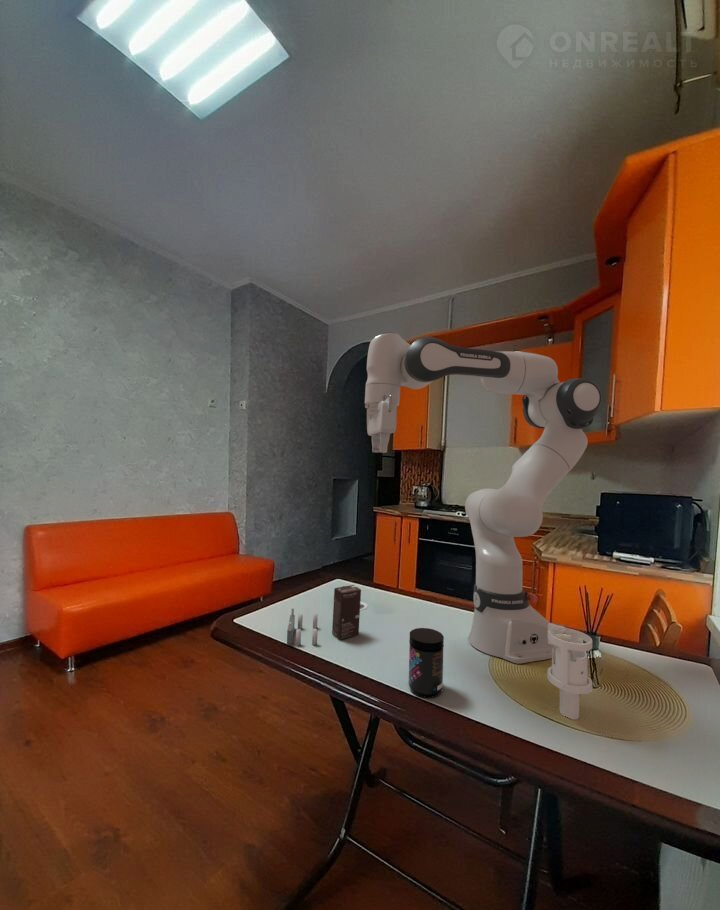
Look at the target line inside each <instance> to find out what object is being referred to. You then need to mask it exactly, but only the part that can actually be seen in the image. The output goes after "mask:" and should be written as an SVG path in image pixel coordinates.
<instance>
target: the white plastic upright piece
mask: <svg viewBox="0 0 720 910" xmlns="http://www.w3.org/2000/svg"><path fill="white" fill-rule="evenodd" d="M564 634H566V636H570V640H569V641H567V640H564V639H560V638H558V637H557V636H556V635H564ZM578 639H579V640H582V641H583V642H584V643H583V642H578ZM548 644H551V645H554V646H555V647H553V648H552V658H551V666H550V667H548V668H547V671H546V672H547V676H546V677H547V680H548V681H549V683H551V684H552V685H554V686H555V687H556V688H557V689H559V712H560V714H561V715H562V716H563V717H565V716H566V717H565V718H567V717H568V718H567V719H569V718H572V719H571V720H579V719H580V695H587V694H590V693H592V692H593V680H592V678H591V677H590V676H589V675H588V653H587V652H589V651H591V650H592V649H593V639H592V637H591V636H590V635H588V634H586V633H584V632H582V631H580V630H577V629H573V628H570V627H569V628H568V627H565V626H564V625H558V624H555V623H552V622H549V624H548Z"/></svg>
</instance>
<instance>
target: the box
mask: <svg viewBox="0 0 720 910" xmlns="http://www.w3.org/2000/svg"><path fill="white" fill-rule="evenodd" d="M333 590H334V591H333V606H332V607H333V608H332V611H333V612H332V625H331V626H332V629H331V634H332V636H333V637H335V638H336V639H338V640H339V641H341V640H345V639H349V638H353V637H356V636H359V635H360V633H359V632H360V619H361V618H360V616H361V615H360V614H361V610H360V609H361V603H360V600H362V599H361V598H362V594H361V593H362V589H360V588H359V587H357V586H356V585H354V584H352V585H343V586H339V587H335V588H334V589H333Z"/></svg>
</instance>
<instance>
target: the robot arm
mask: <svg viewBox="0 0 720 910" xmlns="http://www.w3.org/2000/svg"><path fill="white" fill-rule="evenodd" d="M366 373H367V380H366V382H365V390H364V391H365V392H364V407H365V409H366V431H367V432H366V433H367V435H368V436H370V437H371V446H372V449H371V450H372V453H376V454H377V453H380V454H381V453H383V454H386V453H388V445H389V442H390V436H391V434H394V433H396V430H397V422H398V421H397V414H398V412H397V411H398V408H397V407H399V406H400V399H401V398H400V397H401V387H403V388H407V389H412V390H419V389H420V390H421V389H423V388H426V387H427V386H429V385H430V384H431V383H433V382H435V381H437V380H439V379H441V378H444V377H447V376H462V377H473V378H479V379H480V382H481V384H482V386H483V387H484V389H485V390H487V391H488V392H492V393H496V394H501V395H520V396H521V395H522V398H521V403H522V414H523V416H524V417H523V418H524V419H525V421H526V423H527V424H528V425H529V426H531V427H533V428H537V429H543V432H542V434H541V436H540V437H539V438H538V439H537V441H535V442H534V443H533V444H532V445H531V446H530V447H529V449H527V450H526V451H525V452H524V453H523V454H522V455H521V457H520V458H518V459H517V460H516V461H515V462H514V463H513V465H512V466H511V475H510V476H509V477H508V479H507V481H506V483H505V484H504V485H502V487H500V488H498V489H497V488H488V487H487V488H480V489H479V490H476V491H473V492H472V493H470V494H469V495H468V497H467V498H466V500H465V504H464V505H465V506H464V510H465V514H466V515H467V517H468V520H469V523H470V527H471V528H470V529H471V534H472V538H473V544H474V550H475V583H474V585H473V607H474V610H473V618H472V624H471V628H470V633H469V635H468V637H467V638H468V642H469V644H470V645H471V646H473V647H474V648H475V649H476V650H479V651H480V652H482V653H483V654H484V653H485V654H487V655H490V656H494V657H497V658H501V659H504V660H506V661H508V662H511V663H514V664H517V665H518V664H525V663H530V662H531V663H532V662H537V661H544V660H552V648H553V647H555V646H554V645H551V644H548V624H549V623H550V622H549V621H548V620H547V618H545V617H544V616H543V615H541V613H540V612H538V610H536V609H534V607H532V606H531V604H530V603H533V604H536V603H537V602H538V601H539V597H538V595H537V594H535V593H534V594H533V592H528V591H526V590H525V589H523V558H522V555H521V554H520V552H519V550H518V548H517V545H516V542H515V538H523V537H530V536H532V535H533V534H535V533H536V532H537V531H539V529H540V528H541V525H542V524H543V518H544V516H543V515H544V514H543V510H542V509H543V508H542V507H544V503H545V502H546V500H547V498H548V497H549V495H550V494H551V492H552V491H553V490H554V489H555V488H556V487H557V485H559V483H560V482H561V481H562V480H563V479H564V478H565V477H566V476H567V474H568V473H569V472H571V470H572V469H573V468H574V467H575V466H576V465H577V463H578V462H579V460H580V459H581V457H582V456H583V454H584V453H585V450H586V449H587V447H588V443H589V441H588V437H587V435H586V433H585V432H584V431H583V429H585V428H588V427H589V426H591V425H592V424H593V422H594V417H595V416H596V415H597V414H598V412H599V410H600V408H601V405H602V399H603V398H602V397H603V396H602V391H601V389H600V387H599V386H598V384H597V383H596V382H595V381H592V380H591V379H588V378H583V377H581V378H580V377H579V378H578V377H577V378H571V379H570V378H569V379H567V380H565V381H560V379H558V378H559V377H558V376H559V375H558V374H559V369H558V365H557V363H556V361H555V360H554V359H552V357H550V356H546V355H543V354H538V353H533V352H525V351H507V350H506V351H505V350H504V351H496V350H495V351H494V350H489V349H488V350H487V349H481V348H480V349H478V348H470V347H461V346H455V345H451V344H449V343H447V342H445V341H443V340H442V339H440V338H436V337H433V336H424V337H421V338H418V339H416V340H414V342H412V343H411V344H410V343H408V341H406V340H405V339H404V338H402V337H401V335H400V334H399V333H397V332H384V333H380V334H378V335H376V336H375V337H374V338H372V340H371V341H370V343H369V346H368V352H367V358H366ZM529 601H530V603H529Z"/></svg>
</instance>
